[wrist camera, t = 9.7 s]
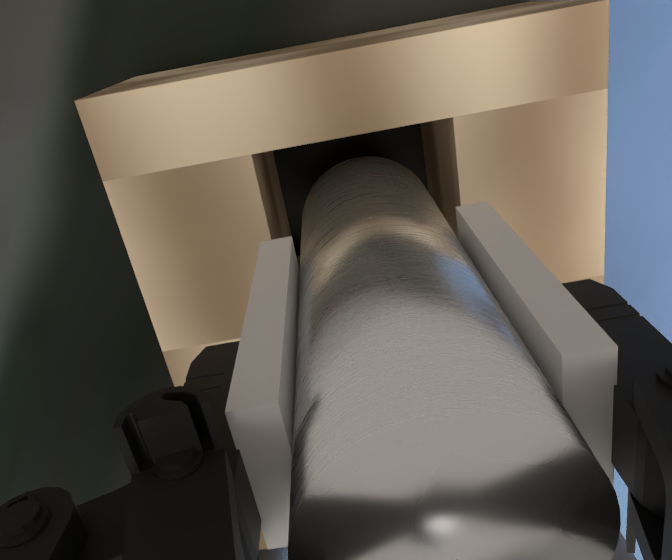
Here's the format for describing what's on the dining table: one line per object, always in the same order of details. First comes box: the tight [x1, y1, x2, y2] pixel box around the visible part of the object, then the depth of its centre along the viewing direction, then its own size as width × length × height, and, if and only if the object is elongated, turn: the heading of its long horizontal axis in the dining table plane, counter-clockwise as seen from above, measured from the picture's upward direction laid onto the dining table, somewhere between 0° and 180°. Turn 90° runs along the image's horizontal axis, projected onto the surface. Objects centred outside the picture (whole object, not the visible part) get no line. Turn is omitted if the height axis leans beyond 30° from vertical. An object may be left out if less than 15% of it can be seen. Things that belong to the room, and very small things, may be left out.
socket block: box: [75, 0, 610, 550], centre depth 22 cm, size 14×17×6 cm
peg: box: [288, 156, 621, 560], centre depth 13 cm, size 4×4×12 cm
